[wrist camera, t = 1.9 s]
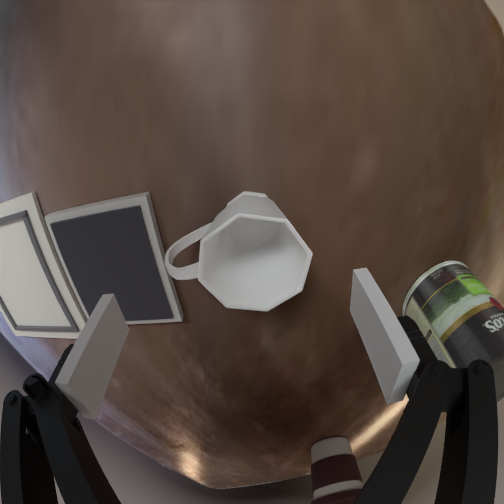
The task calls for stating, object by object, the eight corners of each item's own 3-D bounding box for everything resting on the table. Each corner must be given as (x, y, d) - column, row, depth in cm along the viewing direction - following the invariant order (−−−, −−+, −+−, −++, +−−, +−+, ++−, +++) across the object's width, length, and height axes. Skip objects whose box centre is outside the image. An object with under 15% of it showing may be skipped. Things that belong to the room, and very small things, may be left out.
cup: (300, 242, 26) (320, 300, 19) (191, 268, 27) (175, 329, 20) (283, 165, 23) (302, 198, 16) (163, 197, 24) (131, 242, 17)
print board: (-38, 218, 23) (-43, 222, 22) (35, 191, 23) (29, 194, 22) (17, 332, 32) (14, 337, 31) (95, 335, 31) (92, 341, 30)
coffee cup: (303, 438, 45) (313, 513, 31) (357, 427, 44) (375, 499, 31) (303, 456, 49) (312, 520, 36) (351, 447, 49) (365, 509, 36)
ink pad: (49, 213, 24) (42, 218, 23) (149, 191, 23) (144, 196, 22) (93, 319, 30) (89, 326, 29) (183, 315, 30) (181, 323, 29)
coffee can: (429, 250, 27) (509, 344, 15) (482, 269, 28) (549, 345, 16) (385, 326, 32) (431, 427, 19) (441, 333, 33) (488, 414, 21)
